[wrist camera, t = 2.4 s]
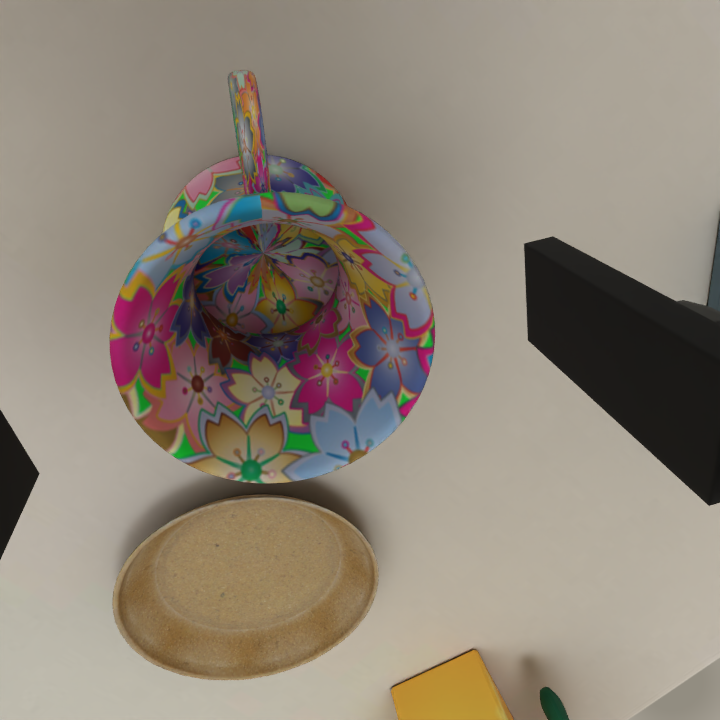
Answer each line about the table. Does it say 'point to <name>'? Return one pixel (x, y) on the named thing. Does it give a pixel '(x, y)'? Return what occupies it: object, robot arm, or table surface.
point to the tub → (715, 279)
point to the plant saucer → (245, 588)
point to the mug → (270, 320)
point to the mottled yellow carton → (461, 694)
